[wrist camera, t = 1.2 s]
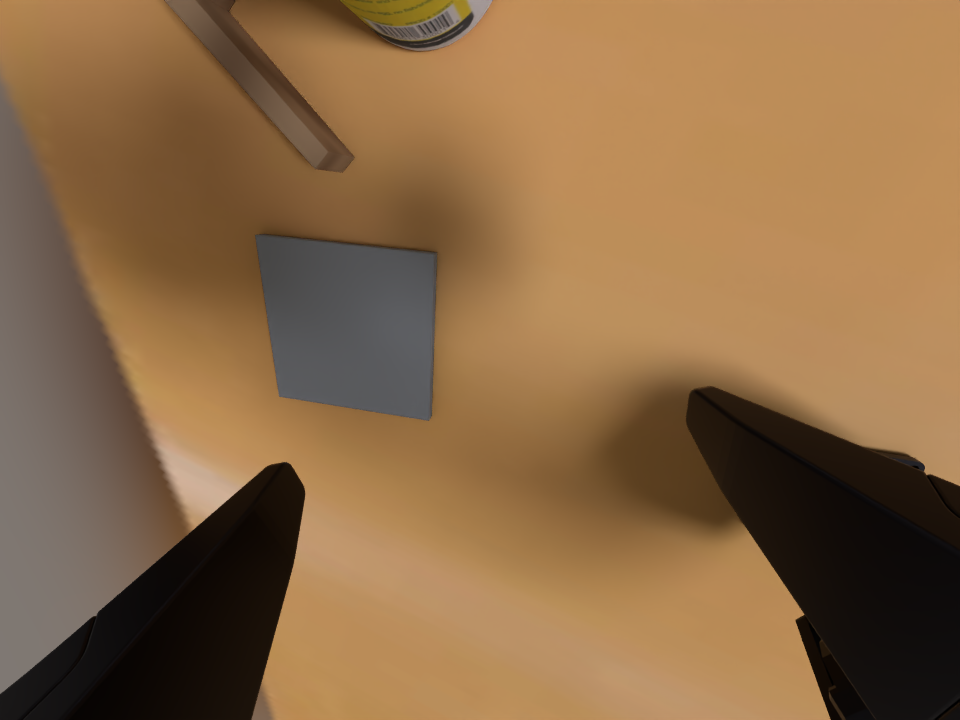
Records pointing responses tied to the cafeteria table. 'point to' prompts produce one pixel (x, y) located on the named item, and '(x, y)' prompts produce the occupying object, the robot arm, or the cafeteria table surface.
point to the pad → (351, 323)
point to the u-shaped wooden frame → (263, 81)
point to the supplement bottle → (419, 20)
